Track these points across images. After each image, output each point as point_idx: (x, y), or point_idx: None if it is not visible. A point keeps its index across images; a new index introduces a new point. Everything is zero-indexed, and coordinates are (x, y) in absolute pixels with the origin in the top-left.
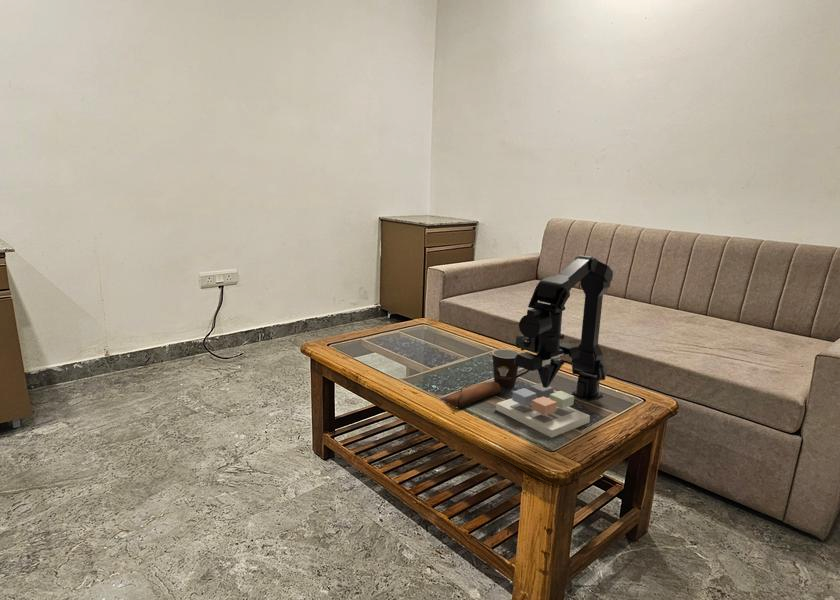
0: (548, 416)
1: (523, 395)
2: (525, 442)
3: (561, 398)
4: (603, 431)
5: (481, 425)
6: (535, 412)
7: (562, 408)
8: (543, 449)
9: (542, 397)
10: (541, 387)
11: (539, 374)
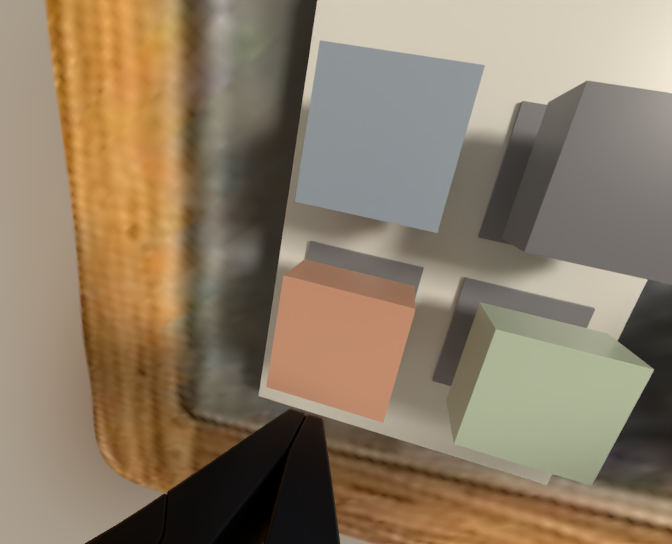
0: None
1: (315, 173)
2: (166, 313)
3: (472, 428)
4: (477, 517)
5: (132, 69)
6: (379, 244)
7: (447, 401)
8: (176, 385)
9: (389, 311)
10: (624, 193)
11: (150, 507)
